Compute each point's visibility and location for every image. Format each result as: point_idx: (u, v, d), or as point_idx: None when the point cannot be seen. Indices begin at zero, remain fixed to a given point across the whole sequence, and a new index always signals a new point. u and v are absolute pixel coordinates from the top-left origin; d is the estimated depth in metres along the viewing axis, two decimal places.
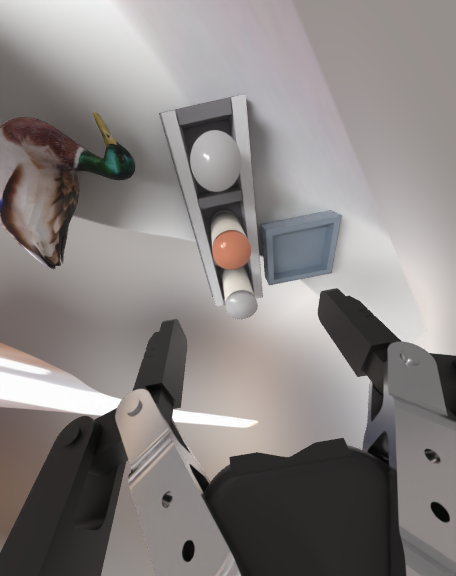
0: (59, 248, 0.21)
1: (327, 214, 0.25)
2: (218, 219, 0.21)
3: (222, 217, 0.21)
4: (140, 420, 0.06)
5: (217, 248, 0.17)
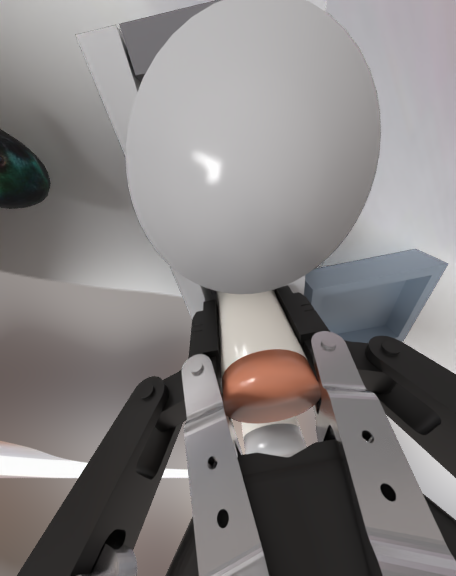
0: None
1: (416, 259, 0.15)
2: None
3: None
4: (200, 382, 0.07)
5: (236, 400, 0.07)
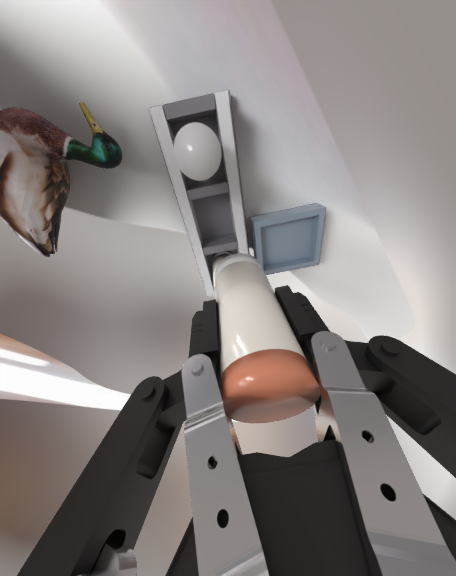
0: (53, 236, 0.22)
1: (313, 206, 0.26)
2: (232, 286, 0.10)
3: (240, 283, 0.10)
4: (200, 382, 0.07)
5: (235, 400, 0.07)
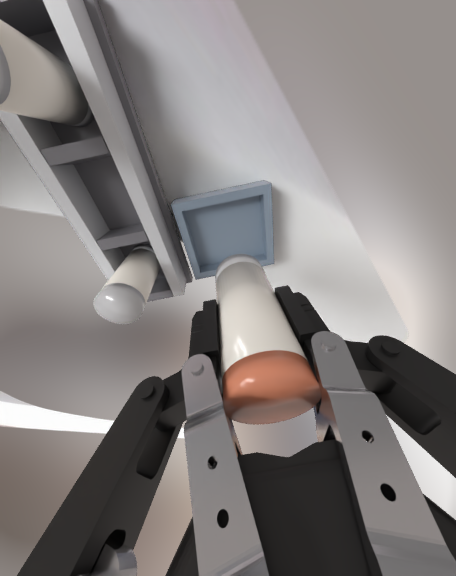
0: None
1: (256, 184, 0.19)
2: (232, 287, 0.10)
3: (240, 283, 0.10)
4: (200, 382, 0.07)
5: (236, 401, 0.07)
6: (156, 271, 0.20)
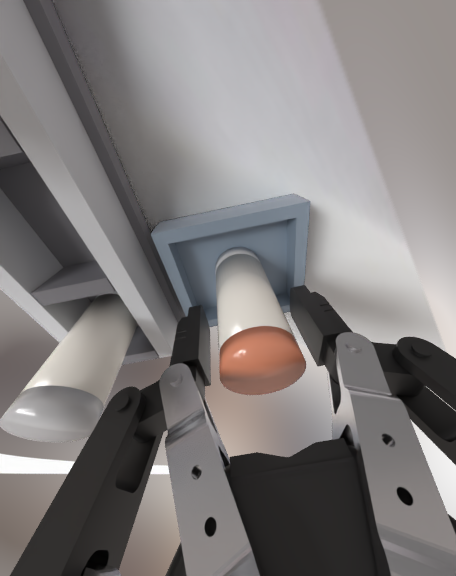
0: None
1: (284, 200, 0.12)
2: (230, 276, 0.11)
3: (237, 272, 0.11)
4: (179, 392, 0.07)
5: (230, 369, 0.07)
6: (131, 330, 0.13)
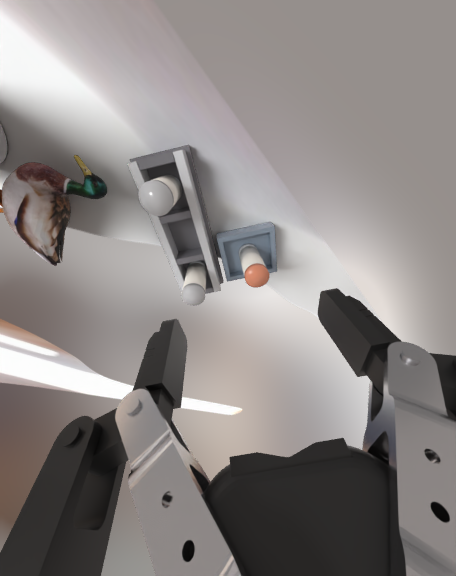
0: (58, 250, 0.29)
1: (266, 225, 0.32)
2: (246, 253, 0.31)
3: (248, 251, 0.31)
4: (140, 420, 0.06)
5: (248, 275, 0.28)
6: None
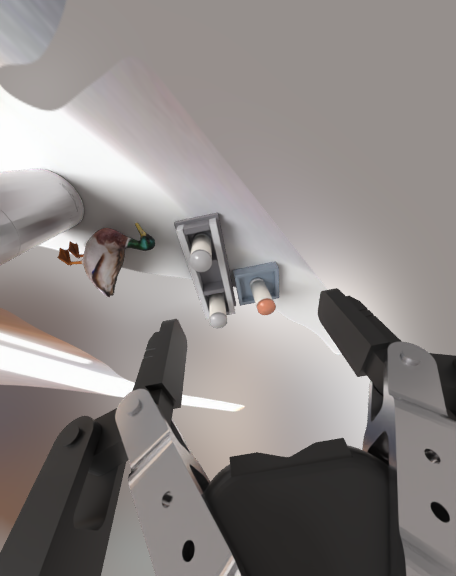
0: (114, 286, 0.38)
1: (271, 265, 0.42)
2: (257, 287, 0.41)
3: (259, 286, 0.41)
4: (140, 421, 0.06)
5: (260, 307, 0.37)
6: None
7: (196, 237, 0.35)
